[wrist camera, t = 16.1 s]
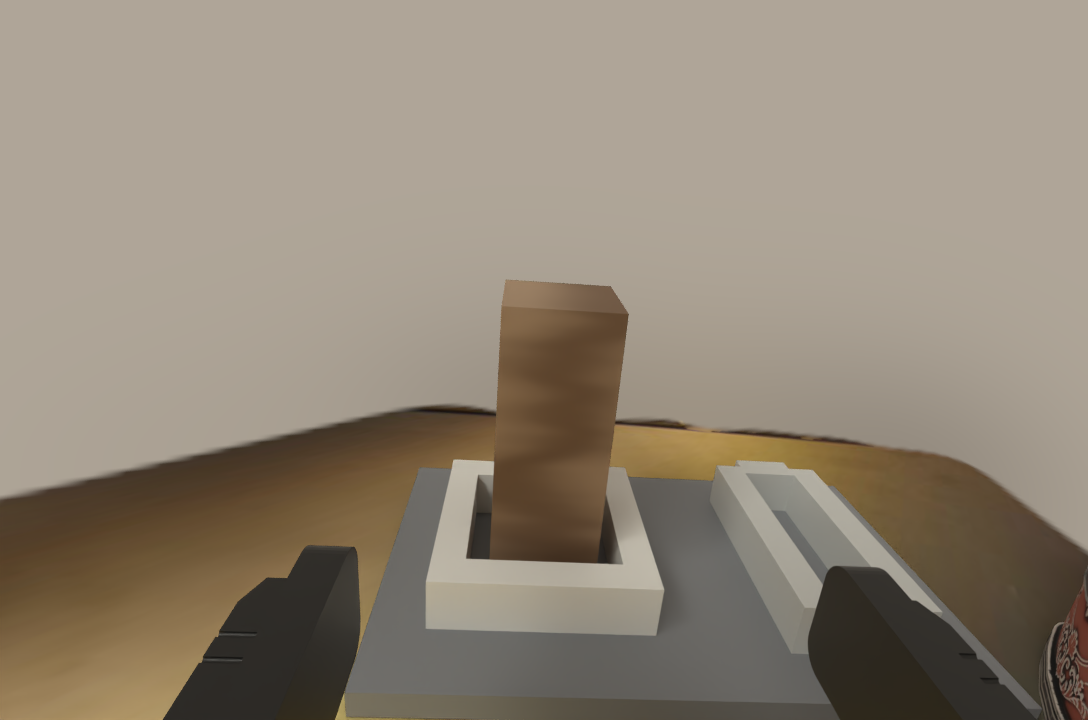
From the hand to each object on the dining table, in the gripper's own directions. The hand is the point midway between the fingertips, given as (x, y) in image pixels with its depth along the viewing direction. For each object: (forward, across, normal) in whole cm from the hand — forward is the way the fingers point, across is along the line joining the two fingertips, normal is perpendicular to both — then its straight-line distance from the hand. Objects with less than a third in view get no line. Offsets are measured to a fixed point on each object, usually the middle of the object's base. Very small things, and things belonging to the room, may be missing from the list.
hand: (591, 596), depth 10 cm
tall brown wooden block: (+12, 0, +8) cm, 14 cm away
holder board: (+12, -5, +10) cm, 16 cm away
